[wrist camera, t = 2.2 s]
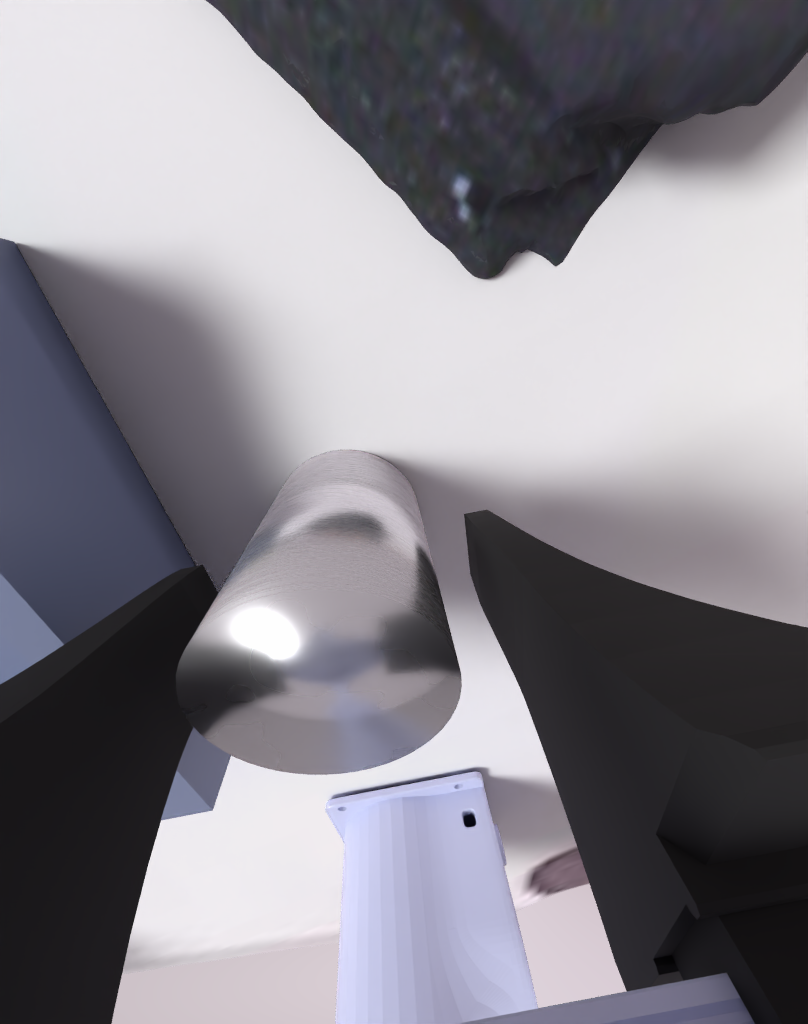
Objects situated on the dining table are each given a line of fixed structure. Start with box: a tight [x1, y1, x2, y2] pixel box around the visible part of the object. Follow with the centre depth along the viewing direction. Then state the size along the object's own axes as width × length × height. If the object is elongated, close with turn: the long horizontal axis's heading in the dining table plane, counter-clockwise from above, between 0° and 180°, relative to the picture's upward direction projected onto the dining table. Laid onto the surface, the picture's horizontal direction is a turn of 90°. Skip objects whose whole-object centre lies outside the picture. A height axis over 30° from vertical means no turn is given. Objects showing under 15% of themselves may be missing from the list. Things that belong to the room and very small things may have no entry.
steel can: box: [176, 450, 462, 774], centre depth 9 cm, size 5×5×7 cm
